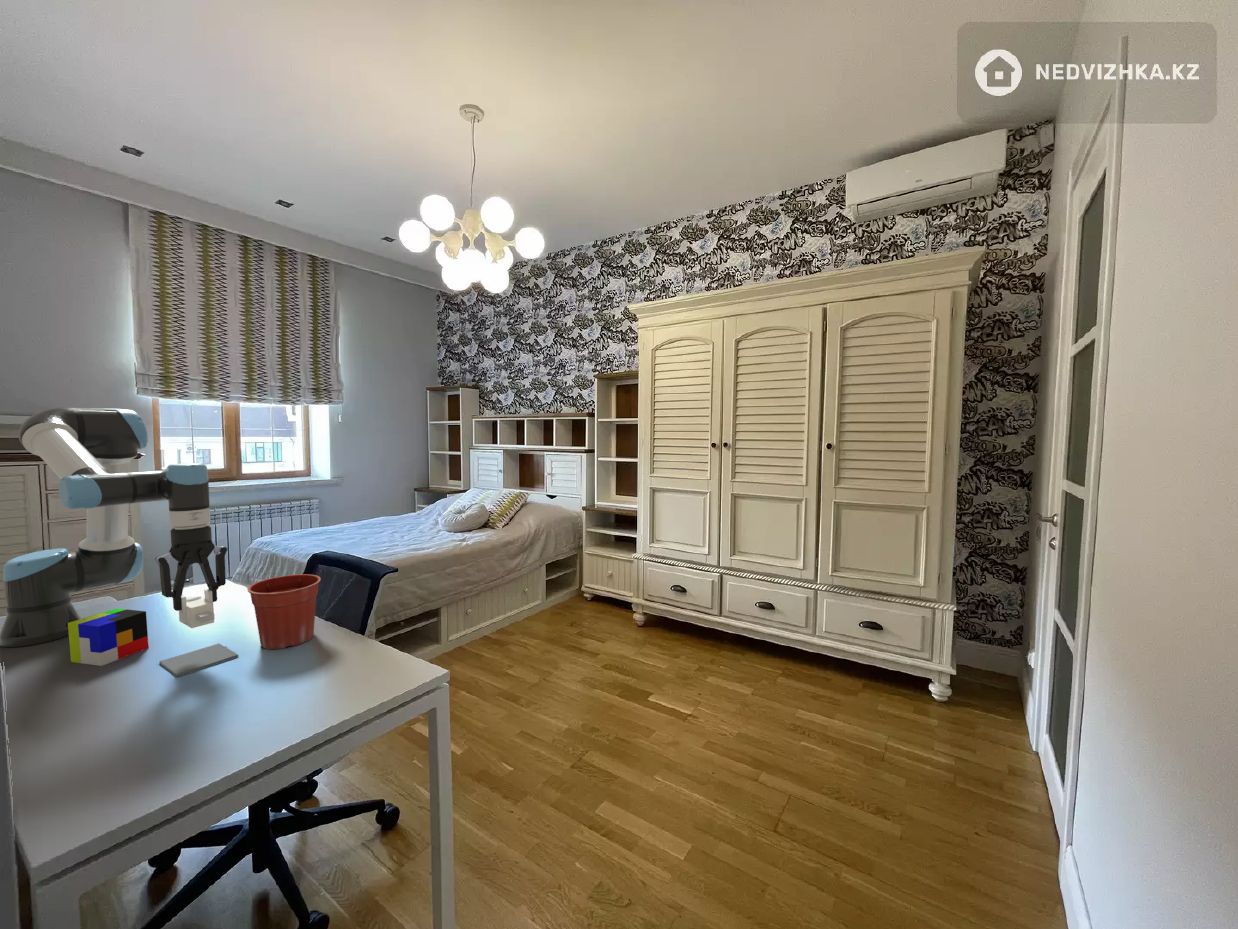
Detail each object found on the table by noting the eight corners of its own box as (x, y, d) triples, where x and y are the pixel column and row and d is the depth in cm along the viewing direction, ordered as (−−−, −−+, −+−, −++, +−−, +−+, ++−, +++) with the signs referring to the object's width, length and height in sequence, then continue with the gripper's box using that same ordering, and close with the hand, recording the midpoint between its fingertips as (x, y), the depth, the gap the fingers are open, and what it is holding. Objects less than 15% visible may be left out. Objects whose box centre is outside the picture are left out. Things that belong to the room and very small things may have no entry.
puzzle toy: (101, 666, 119) (98, 626, 118) (71, 662, 121) (67, 623, 120) (148, 648, 129) (146, 611, 128) (119, 644, 131) (116, 608, 130)
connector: (176, 619, 123) (175, 600, 122) (198, 614, 126) (197, 595, 126) (196, 631, 115) (195, 610, 115) (219, 625, 119) (218, 605, 119)
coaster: (159, 663, 120) (159, 661, 120) (219, 645, 130) (219, 643, 130) (177, 677, 114) (176, 674, 114) (238, 656, 124) (238, 654, 124)
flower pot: (326, 643, 132) (323, 585, 131) (250, 660, 122) (247, 597, 121) (319, 623, 145) (317, 570, 144) (250, 637, 135) (247, 581, 134)
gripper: (148, 534, 110) (155, 634, 112) (239, 522, 125) (244, 610, 126) (137, 530, 114) (144, 627, 116) (227, 519, 129) (232, 605, 130)
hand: (196, 618), depth 121 cm, fingers closed on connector, 4 cm apart
